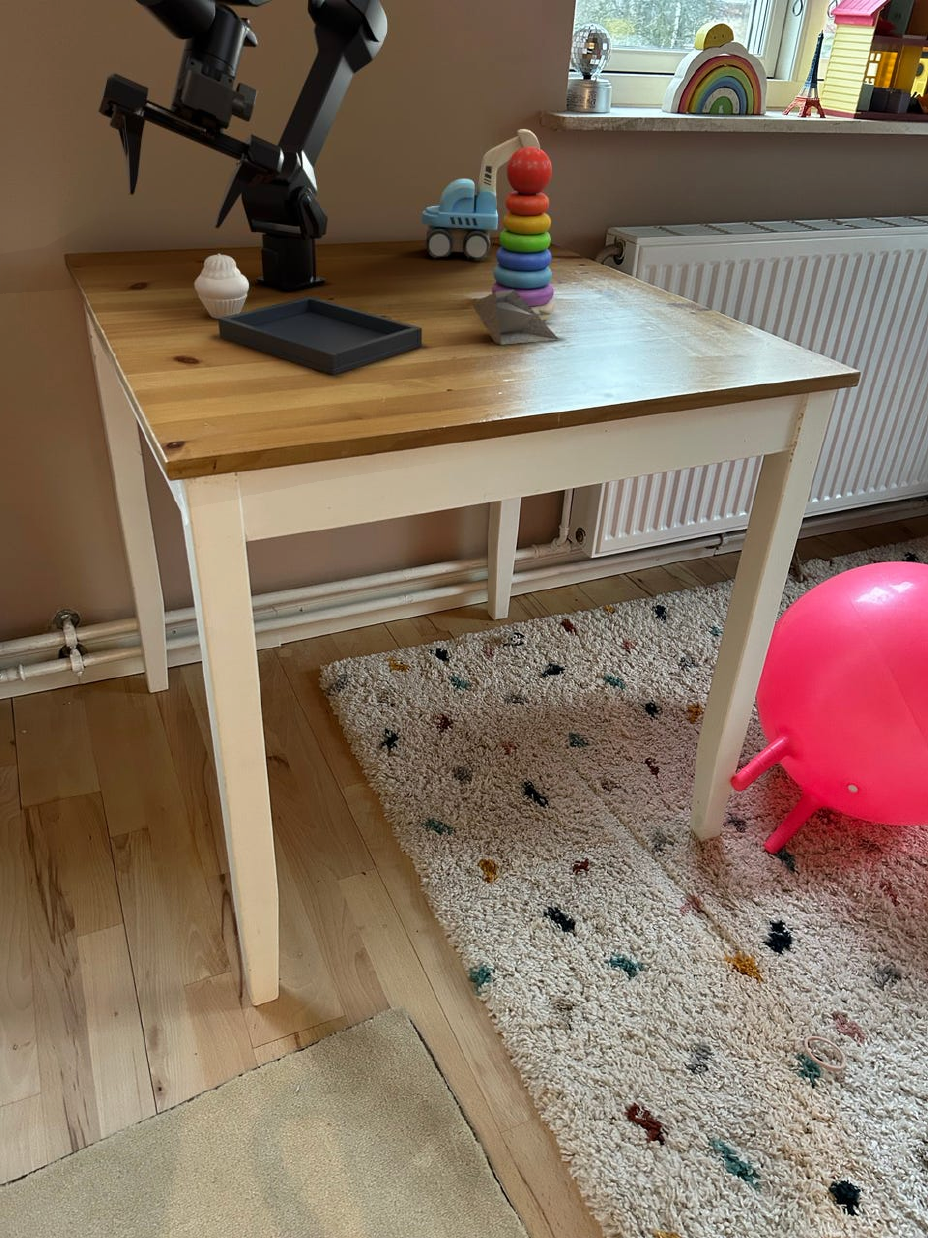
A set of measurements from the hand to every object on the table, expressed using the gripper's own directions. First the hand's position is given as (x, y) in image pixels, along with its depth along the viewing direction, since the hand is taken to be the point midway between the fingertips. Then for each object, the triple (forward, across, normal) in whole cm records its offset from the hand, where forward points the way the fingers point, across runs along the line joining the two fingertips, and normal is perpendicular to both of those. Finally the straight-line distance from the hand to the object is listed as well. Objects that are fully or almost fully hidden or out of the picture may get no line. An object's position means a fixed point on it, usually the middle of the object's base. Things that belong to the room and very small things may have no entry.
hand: (175, 210), depth 103 cm
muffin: (+8, +8, +5) cm, 13 cm away
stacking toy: (-2, +41, -6) cm, 41 cm away
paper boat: (+4, +36, -15) cm, 39 cm away
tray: (+9, +17, -8) cm, 21 cm away
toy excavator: (-16, +46, +23) cm, 54 cm away
